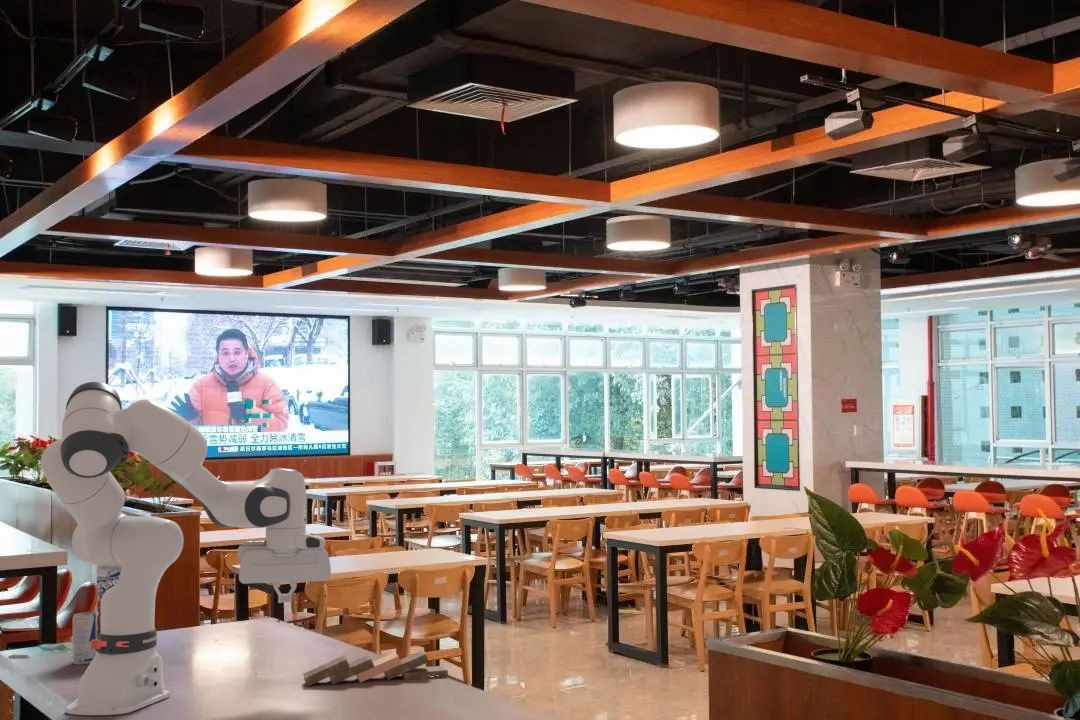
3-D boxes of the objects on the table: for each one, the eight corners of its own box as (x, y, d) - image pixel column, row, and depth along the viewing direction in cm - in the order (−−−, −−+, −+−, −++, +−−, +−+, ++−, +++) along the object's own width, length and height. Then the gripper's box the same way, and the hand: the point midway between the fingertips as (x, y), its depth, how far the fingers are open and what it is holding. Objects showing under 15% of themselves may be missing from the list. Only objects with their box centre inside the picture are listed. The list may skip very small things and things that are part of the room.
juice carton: (123, 647, 297) (124, 544, 299) (145, 651, 291) (145, 546, 292) (92, 652, 290) (92, 547, 292) (113, 657, 284) (114, 550, 285)
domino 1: (304, 678, 250) (346, 659, 252) (303, 673, 254) (344, 654, 257) (307, 686, 250) (349, 667, 252) (306, 681, 254) (348, 662, 257)
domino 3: (357, 674, 252) (398, 656, 255) (354, 670, 257) (394, 652, 260) (360, 682, 252) (401, 664, 256) (357, 678, 257) (397, 660, 260)
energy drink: (99, 660, 281) (99, 611, 282) (88, 664, 276) (89, 615, 277) (79, 660, 282) (79, 611, 283) (68, 664, 277) (68, 615, 277)
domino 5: (404, 673, 255) (447, 670, 257) (401, 668, 260) (444, 665, 262) (404, 682, 255) (447, 678, 257) (401, 677, 259) (444, 674, 262)
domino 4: (385, 671, 254) (426, 653, 257) (382, 667, 259) (422, 650, 262) (388, 679, 254) (429, 661, 257) (385, 675, 259) (425, 658, 262)
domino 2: (329, 676, 251) (371, 658, 253) (327, 672, 255) (369, 654, 258) (332, 685, 251) (374, 666, 253) (330, 680, 256) (372, 662, 258)
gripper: (237, 542, 247) (236, 606, 246) (331, 540, 253) (331, 602, 252) (238, 540, 254) (237, 602, 253) (329, 538, 259) (329, 598, 258)
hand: (284, 602), depth 252 cm, fingers closed
